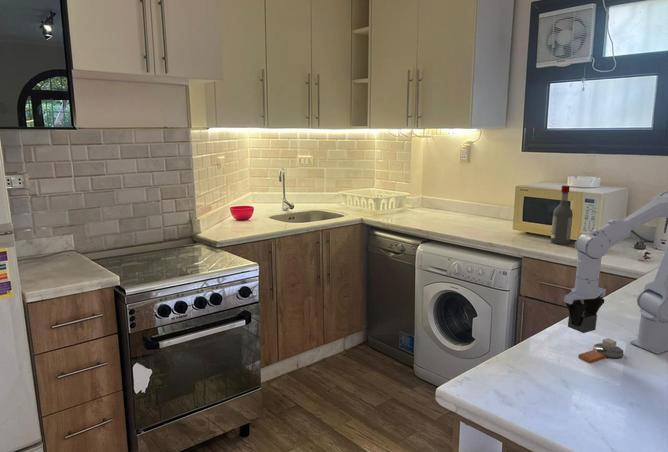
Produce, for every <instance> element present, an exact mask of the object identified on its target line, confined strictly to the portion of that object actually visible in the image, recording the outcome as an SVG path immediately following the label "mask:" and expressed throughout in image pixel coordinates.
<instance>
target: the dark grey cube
mask: <svg viewBox="0 0 668 452" xmlns="http://www.w3.org/2000/svg"><path fill="white" fill-rule="evenodd" d="M597 319H598V314H594V313H591V312H588V311H586V310H584V312H583V315H582V319H581V323H580V326H579V327H577V326H575V325H572V323H571V318H570V313H569V314H568V320H567V328H570V329H572V330H575V331H577V332H579V333H582V334H586V333H590V332H593V331H596V327H597Z"/></svg>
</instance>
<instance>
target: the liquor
mask: <svg viewBox="0 0 668 452" xmlns="http://www.w3.org/2000/svg"><path fill="white" fill-rule="evenodd" d="M560 192H561V198H560V203H559V205H557V206H556V207H555V208H554V210H553V215H552V223H551V234H550V243H551V244H555V245H563V246H566V245H567V246H568V245H569V244H570V242H571V233H572V227H573V226H572V225H573V217H574V216H573V213H574V212H573V210H572V209H571V207H570V206H569V204H568V203H569V202H568V201H569V192H570V185H561V190H560Z"/></svg>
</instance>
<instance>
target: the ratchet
mask: <svg viewBox="0 0 668 452" xmlns="http://www.w3.org/2000/svg"><path fill="white" fill-rule="evenodd" d="M577 357H578V359H580V360H582V361H584V362H587V363H589V364H592V363H596V362H599V361H601V360H605V359H610V360H611V359H612V360H620V359H622V358H623V357H624V350H623V349H622V348H621V347H619V346H617V341H616V340H614V339H611V338H609V337H608V338H605V339H602V342H600V343H595V344H594V345H593V349H592V350H588V351H585V352H583V353H579V354H578V356H577Z"/></svg>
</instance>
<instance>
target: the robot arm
mask: <svg viewBox="0 0 668 452" xmlns="http://www.w3.org/2000/svg"><path fill="white" fill-rule="evenodd" d="M657 218H667V219H668V190H665V191H663V192H661V193H659V194H658V195H656V196H653V197H652V198H651V201H649V202H648V203H646V204H645V205H643V206H642V207H640V208H639V209H637V210H635V211H634V212H633V213H631V214H629V215H628V216H626V217H625V218H623V219H620V218H615V219H612V218H611V219H608V221H607V223H605V224H603V225H602V226H600V227H598V228H597V229H596V228H594V229H593V230H592V232H590V233H589V232H588V233H587V232H586V233H582V234H581V235H579V237H578V238H577V240H576V241H575V242H574V247H575V250H576V251H577V261H576V271H575V280H574V281H575V282H574V287H573V288H571V289H570V291H571V292H569V293H568V294H565V295H564V298H563V299H564V300H563V302H564V303H565V305H566V307H567V309H568V312H569V313H570V318H571V323H572V325H575V326H577V327H579V326H580V323H581V319H582V315H583V312H584V310H586V311H588V312H591V313H594V314H596V315H598V311H599V310H600V308H601V306H603V304H605V299H604V298H602V297H605V296H606V290H607V289H606V288H604V287H603V288H602V287H599V284H600V283H599V281H600V272H601V266H602V258H603V257H604V256H605V255H607V253H608V250H609V249H611V247H613V246H615V245H616V244H618V243H620V242H622V241H623V240H625V239H627V238H629V237H630V235H631V231H633V230H635V229H637V228H639V227H641V226H643V225H645V224H646V223H649V222H651V221H652V220H653V221H654V220H655V219H657ZM582 301H583V303H582ZM636 304H637V306H638V307H639V309H640V311H639V312H640V319H639V320H640V321H639V326H638V332H637V333H638V334H637V338H636V339H633V340H630V341H629V343H630V345H631V344H632V345H634V346H636V347H639V348H641V349H644V350H647V351H649V352H651V353H654V354H656V355H659V354H662V353H665V352H667V351H668V245H666V249H665V252H664V254H663V257H662V259H661V262H660V264H659V267H658V270H657V272H656V274H655V277H654V280H653V281H651V282H648V283H646V284H645V285H644V288H643V289H642V291H640V293H639V294H638V295H637V298H636Z"/></svg>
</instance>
